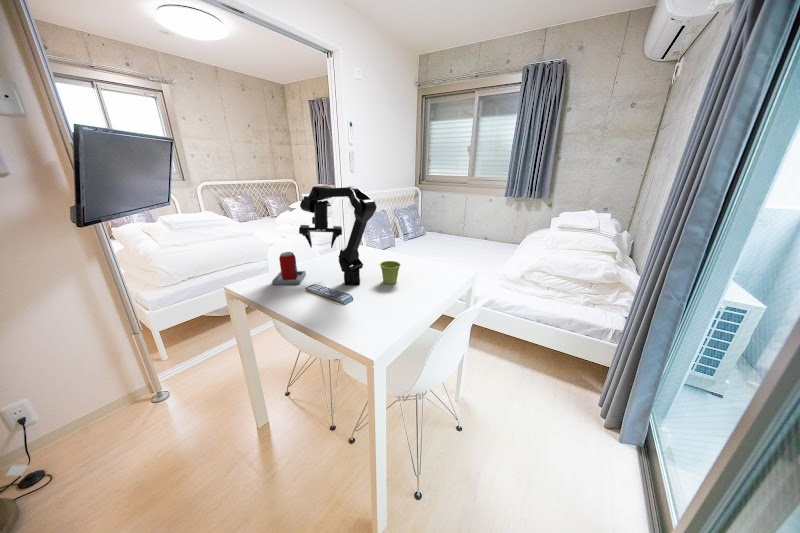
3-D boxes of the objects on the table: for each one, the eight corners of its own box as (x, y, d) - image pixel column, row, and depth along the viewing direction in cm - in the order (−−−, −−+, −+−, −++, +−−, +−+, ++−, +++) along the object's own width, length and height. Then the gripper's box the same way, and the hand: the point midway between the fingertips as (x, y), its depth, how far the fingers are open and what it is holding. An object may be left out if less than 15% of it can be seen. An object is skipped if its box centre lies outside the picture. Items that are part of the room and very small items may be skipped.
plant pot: (399, 278, 130) (400, 260, 127) (400, 286, 121) (400, 267, 118) (380, 278, 130) (380, 260, 127) (379, 286, 121) (379, 267, 118)
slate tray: (305, 274, 132) (305, 270, 131) (299, 284, 121) (299, 280, 120) (281, 275, 131) (280, 271, 130) (272, 285, 120) (272, 280, 119)
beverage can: (301, 278, 126) (298, 253, 122) (287, 282, 121) (284, 257, 117) (292, 274, 130) (289, 250, 126) (279, 279, 125) (275, 254, 120)
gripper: (341, 212, 132) (341, 242, 138) (301, 210, 128) (302, 241, 134) (342, 217, 122) (341, 250, 128) (298, 215, 118) (299, 249, 124)
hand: (321, 247), depth 129 cm, fingers open, 9 cm apart
